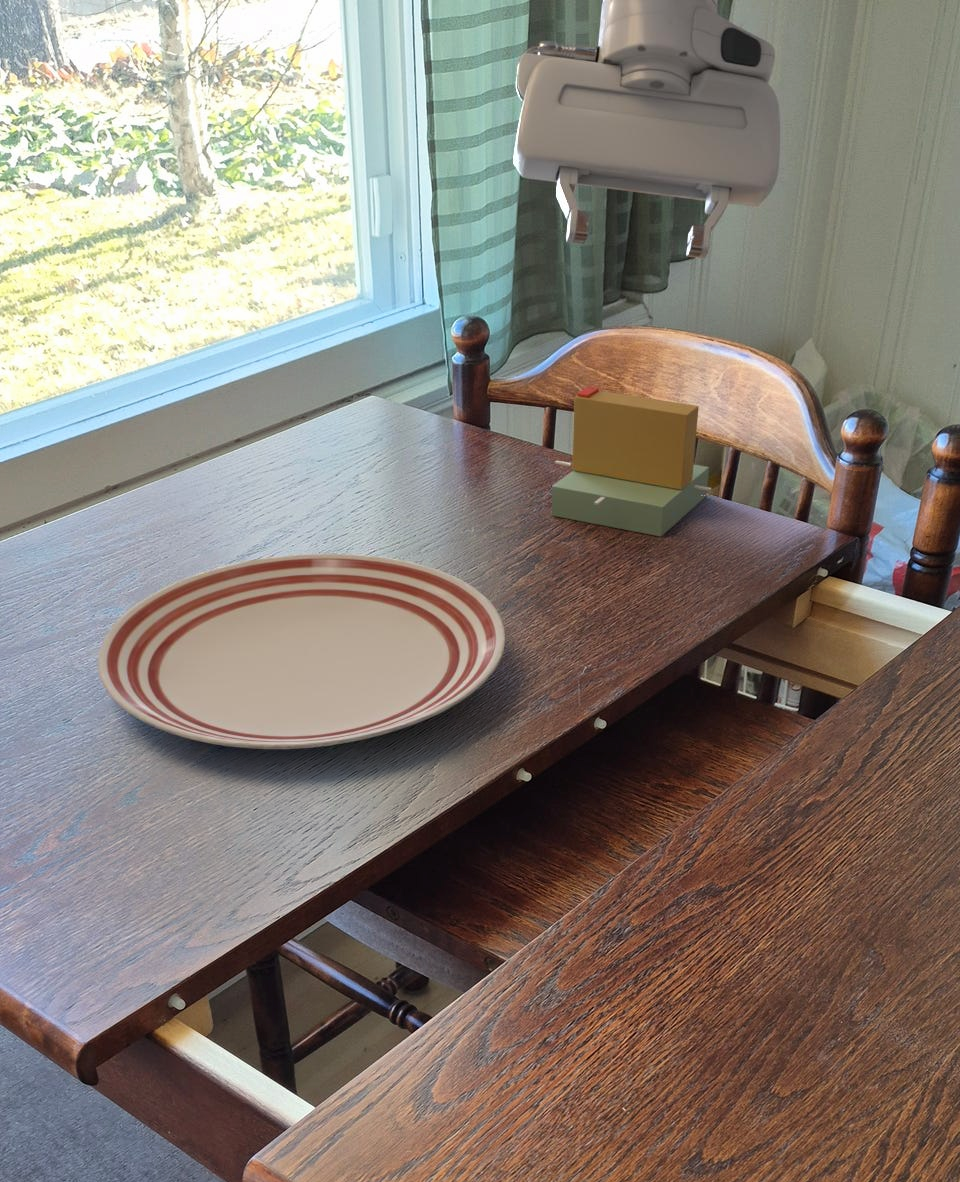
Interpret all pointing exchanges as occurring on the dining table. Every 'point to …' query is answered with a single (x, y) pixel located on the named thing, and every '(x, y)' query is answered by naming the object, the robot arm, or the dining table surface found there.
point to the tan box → (634, 438)
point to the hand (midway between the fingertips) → (637, 247)
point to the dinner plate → (301, 650)
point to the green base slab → (626, 501)
